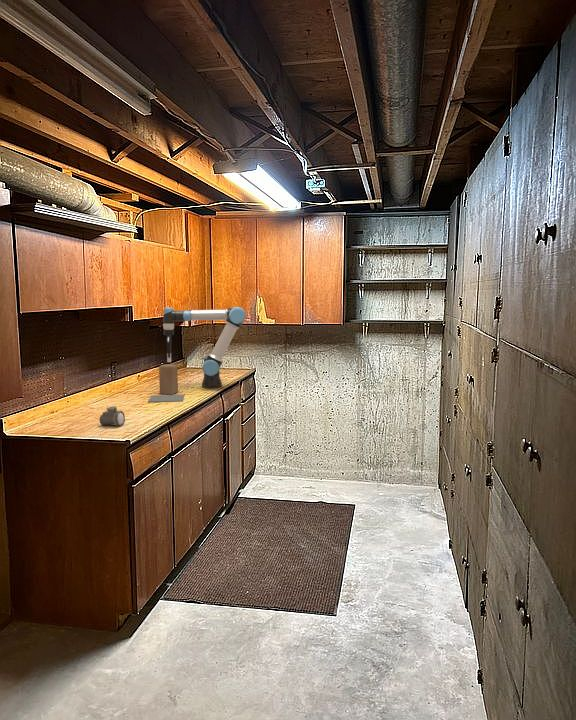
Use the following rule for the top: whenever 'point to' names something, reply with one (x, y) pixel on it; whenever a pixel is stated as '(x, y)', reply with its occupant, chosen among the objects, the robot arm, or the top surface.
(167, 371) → the block
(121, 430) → the top surface
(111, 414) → the pipe fitting
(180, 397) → the mat
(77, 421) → the top surface
